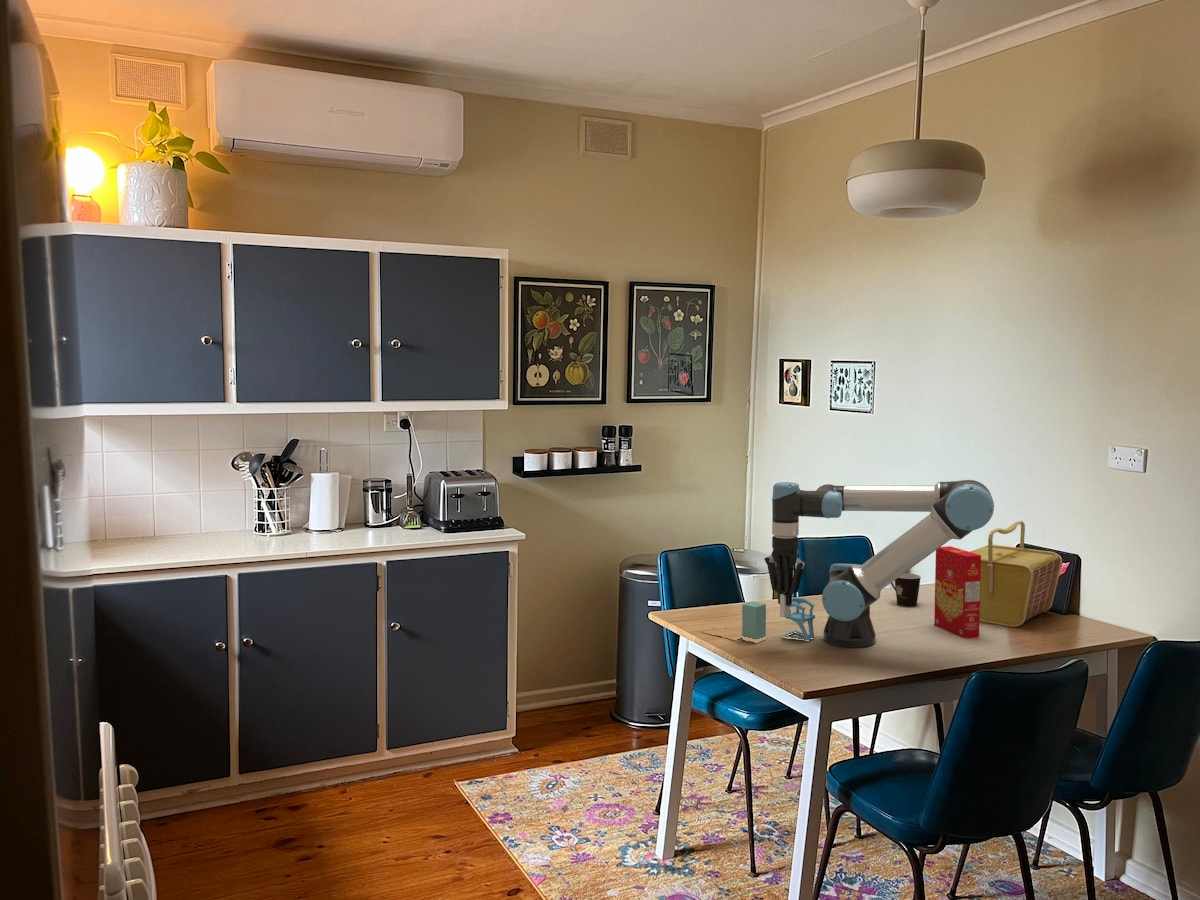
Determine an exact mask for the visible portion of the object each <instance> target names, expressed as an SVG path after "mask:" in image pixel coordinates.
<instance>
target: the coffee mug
mask: <svg viewBox="0 0 1200 900" xmlns="http://www.w3.org/2000/svg"><path fill="white" fill-rule="evenodd" d="M921 578H922V576H921V575H919V574H915V573H911V572H909V573H908V572H907V573H906V572H905V573H904V574H903V575H901V576H900V577H898V578H897V579H896V580H894V583H893V582H892V583H890V584H891V587H892V589H894V591H895V595H896V604H897V606H899V607H903V608H904V607H905V608H916V607H917V605H918V598H919V591H920V584H921Z"/></svg>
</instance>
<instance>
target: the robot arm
mask: <svg viewBox="0 0 1200 900" xmlns="http://www.w3.org/2000/svg"><path fill="white" fill-rule="evenodd" d="M994 503H995V502H994V499H993V496H992V494H991V492H990V490H989V489H988V487H987V486H986V485H984V484H983V483H982V482H979V481H978V480H973V479H961V480H955V481H952V480H951V481H938V482H936V484H934V485H932V484H931V485H927V484H926V485H922V484H921V485H920V484H919V485H917V484H916V485H913V484H912V485H834V484H831V483H829V484H828V483H827V484H823V485H820V486H819V487H818V488H817V489H816V490H802V489H800V485H799V484H798V483H797V482H791V481H790V482H789V481H782V482H781V481H780V482H776V483H774V484H773V487H772V498H771V504H772V510H771V511H772V515H771V517H772V519H771V520H772V522H771V523H772V524H771V535H773V536H772V537H771V547H772V552H771V554H770V555H769V556H767V557H766V556H765V558H764V561H765V562H764V563H765V564H766V565H767V569H768V575H769V581H770V586H771V590H772V591H775V592H776V593H777V603H778V605H779V616H780V618H781V617H782V618H785V617H787V616H789V615H790V610H791V607H790V605H791V604H792V599H793V595H794V594H797V593H798V592H799V589H800V586H801V585H800V584H801V580H802V577H803V572H804V569H805V568H806V566H807V562H806V561H802V559H800V556H799V548H800V547H799V537H798V535H799V532H800V531H799V526H800V525H799V524H800V523H799V522H800V519H799V518H800V517H802V518H803V517H810V518H822V519H823V518H824V519H838V518H841V516H842V512H905V513H906V512H911V513H913V512H915V513H916V512H917V513H918V512H920V513H921V512H925V513H929V514H928V515H927V516H925V517H924V518H922V519H921V520H920V521H919V522H918V523H915V525H913V526H912V527H911V528H910V529H908V530H907V531H905V532H904V533H902V534H901V535H900V536H899V537H897V538H896V539H894V540H893V541H891V542H890V543H889V544H888V545H886V546H885V547H884V548H883V549H881V550H880V551H878V552H877V553H876V554H874V555H873V556H872V557H871V558H869V559H868V560H866V561H865V562H863V564H857V563H833V564H831V565H830V566H829V567H830V569H829V571H828V572H829V581H828V583H827V584H826V585H825V587H824V588H823V591H822V595H821V600H822V605H823V609H824V610H825V611H826V613H827V614H828V616H827V617H828V618H827V621H826V623H825V626H824V629H823V634H822V635H823V636H822V637H823V638H824V639H823V638H822V639H823V641H824V642H826V641H827V642H826V643H828V642H829V643H828V644H830V643H832V644H831V645H833V644H835V645H834V646H837V645H839V646H838V647H843V646H845V648H865V646H867V647H869V646H870V645H871V646H874V645H875V644H876V643H877V641H876V640H877V639H876V638H877V635H876V631H875V628H874V625H873V622H872V619H871V605H873V604H874V603H875V602H877V601H878V600H879V599H880V598H881V591H883V589H885V588H886V587H888V586H890V584H891V583H893V582H895V580H896V579H897V578H898V577H900V576H901V575H903V574H904V573H906V572H907V573H908V571H910V570H911V569H912V568H913V567H915V566H916V565H918V564H919V563H920V562H922V561H924V559H926V558H927V557H929V556H930V555H931V554H933V553H934V552H936V550H937V549H938V548H940V547H943V546H944V545H945V544H947V543H948V542H949V541H951V540H959V541H960V540H962V539H964V538H965V537H966V536H968V535H969V534H970V533H972V532H973V531H977V530H979V529H981V528H984V527H985V526H986V525H987V524H988V523H989V522H990V521H991V519H992V517H993V515H994V510H995V505H994Z"/></svg>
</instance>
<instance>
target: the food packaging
mask: <svg viewBox="0 0 1200 900" xmlns="http://www.w3.org/2000/svg"><path fill="white" fill-rule="evenodd" d="M934 569H935V573H934V576H935V577H934V580H935V581H934V618H933V619H934V620H933V621H934V622H933V623H934V627H937V628H939V629H941V630H944V631H945V632H949V633H950V634H952V635H954V636H958V637H959V638H961V639H972V638H980V622H981V621H980V582H981V555H979V554H975V553H972V552H970V551H969V550H964V549H961V548H957V547H954V546H950V545H949V546H941V547H940V548H938V549H937V550H936V551H935V568H934Z"/></svg>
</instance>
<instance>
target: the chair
mask: <svg viewBox="0 0 1200 900" xmlns="http://www.w3.org/2000/svg"><path fill="white" fill-rule="evenodd" d="M802 604H806V605H808V606H809V607H810V608H809V613H806V612H805V610H806V607H804V606H803V605H802ZM793 607H795V608H796V609H795V610H796V611H794V612H792V611H791V609H790V615H789V616H787V617H784V618H785V619H787V620H791V621H792V622H795V624H797V625H798V627H799V629H800V630H801V631H800V630H792V631H790V632H787V633H785V634H782V635H781V637H782V636H785V637H791V638H798V639H804V640H810V638H813V639H814V640H815V633H814V623H813V622H814V619H815V618H816V615H815V614H813V610H814V607H815V604H814V603H812V602H811V601H809V600H807V599H804V598H797V597H792V604H791V605H790V608H793ZM800 610H801V611H800ZM805 622H807V624H808V633H809V634H808V633H807V630H806V627H805V625H804V623H805ZM794 632H797V633H799V634H802V635H804V636H805V637H803V636H793V635H791V636H786V635H788V634H791V633H794ZM810 641H811V640H810Z"/></svg>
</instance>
